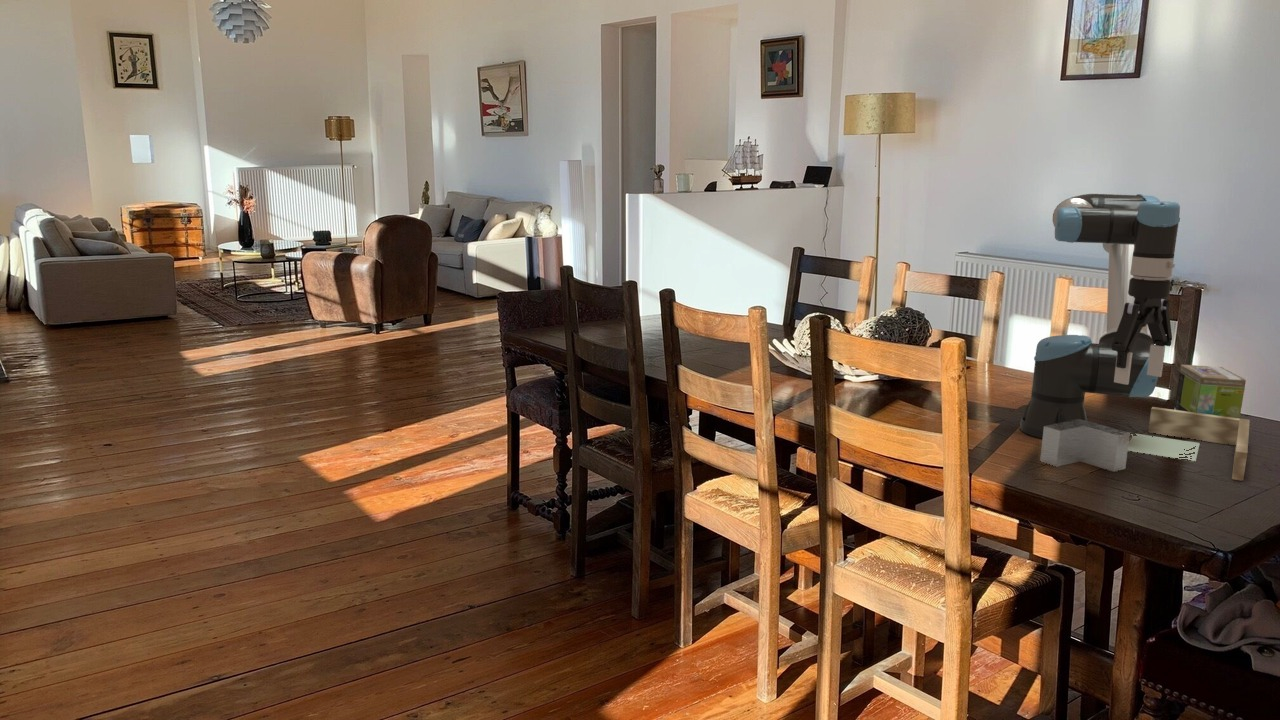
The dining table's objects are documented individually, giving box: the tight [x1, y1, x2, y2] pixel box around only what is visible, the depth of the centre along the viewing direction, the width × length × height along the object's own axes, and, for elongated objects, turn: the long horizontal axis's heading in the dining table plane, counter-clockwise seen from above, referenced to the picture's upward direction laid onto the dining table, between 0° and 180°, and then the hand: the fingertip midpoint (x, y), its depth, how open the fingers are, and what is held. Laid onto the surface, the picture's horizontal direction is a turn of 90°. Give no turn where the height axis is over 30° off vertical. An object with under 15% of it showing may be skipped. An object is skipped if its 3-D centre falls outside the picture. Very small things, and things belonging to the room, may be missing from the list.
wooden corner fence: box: [1147, 406, 1251, 482], centre depth 216 cm, size 20×30×6 cm, turn 148°
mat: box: [1128, 433, 1200, 463], centre depth 222 cm, size 16×16×1 cm
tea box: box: [1173, 364, 1247, 419], centre depth 234 cm, size 15×10×15 cm, turn 168°
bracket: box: [1039, 419, 1131, 472], centre depth 207 cm, size 12×12×8 cm
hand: (1137, 379), depth 202 cm, fingers open, 13 cm apart
